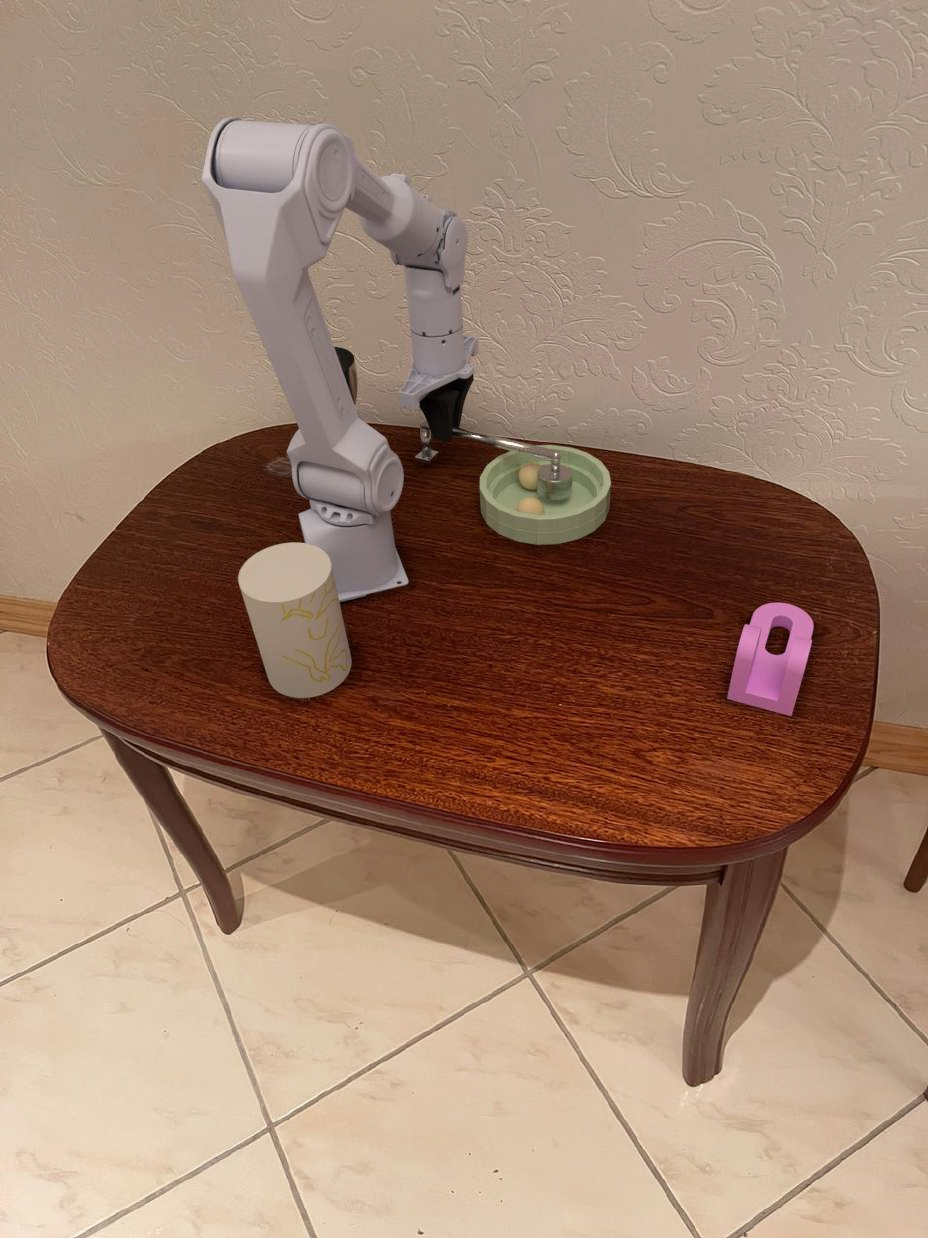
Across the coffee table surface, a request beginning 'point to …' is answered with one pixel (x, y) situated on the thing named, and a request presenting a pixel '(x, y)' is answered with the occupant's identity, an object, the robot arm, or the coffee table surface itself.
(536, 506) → the dough ball
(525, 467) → the dough ball
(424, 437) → the weighted chrome rod
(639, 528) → the coffee table surface
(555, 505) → the bowl
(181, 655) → the coffee table surface
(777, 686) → the bracket
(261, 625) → the cream cylinder
